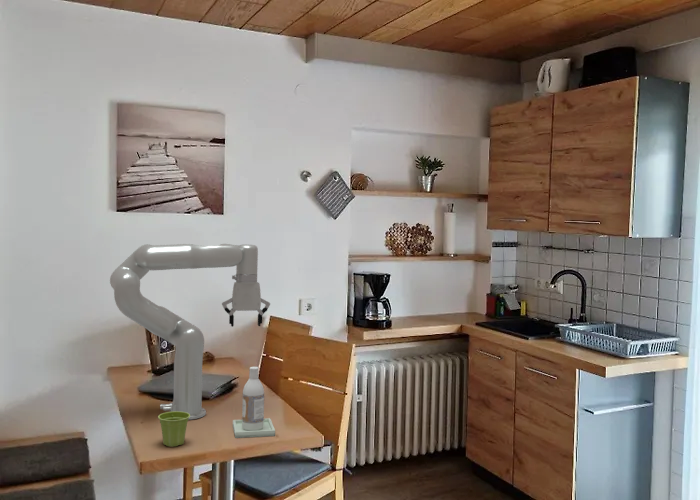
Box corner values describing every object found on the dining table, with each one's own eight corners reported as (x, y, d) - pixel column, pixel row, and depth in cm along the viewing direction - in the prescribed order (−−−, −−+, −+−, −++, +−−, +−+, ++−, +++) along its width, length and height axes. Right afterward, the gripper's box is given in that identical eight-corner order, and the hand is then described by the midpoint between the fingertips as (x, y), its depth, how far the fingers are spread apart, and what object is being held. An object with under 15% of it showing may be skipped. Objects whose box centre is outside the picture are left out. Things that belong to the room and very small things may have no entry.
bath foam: (240, 425, 213) (241, 365, 212) (260, 423, 216) (261, 364, 215) (244, 432, 207) (245, 370, 206) (265, 430, 209) (267, 369, 208)
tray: (235, 438, 204) (235, 432, 203) (232, 425, 216) (232, 420, 216) (275, 435, 207) (275, 430, 206) (270, 423, 219) (270, 418, 219)
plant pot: (161, 438, 202) (161, 411, 201) (191, 438, 202) (192, 411, 202) (154, 449, 192) (155, 420, 192) (186, 448, 193) (187, 420, 193)
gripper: (222, 279, 227) (221, 327, 228) (271, 280, 231) (270, 327, 232) (221, 277, 234) (220, 324, 235) (269, 277, 238) (268, 323, 239)
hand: (245, 325), depth 234 cm, fingers open, 9 cm apart
